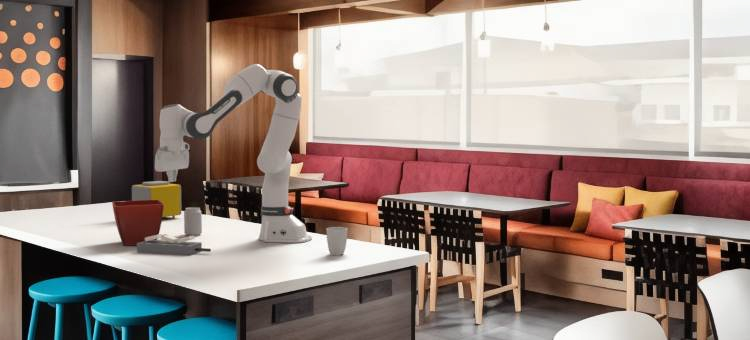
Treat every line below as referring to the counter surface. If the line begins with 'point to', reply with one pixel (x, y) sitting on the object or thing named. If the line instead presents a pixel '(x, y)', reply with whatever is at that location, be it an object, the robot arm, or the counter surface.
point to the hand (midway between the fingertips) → (172, 181)
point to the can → (192, 221)
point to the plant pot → (137, 219)
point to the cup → (336, 240)
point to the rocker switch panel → (170, 247)
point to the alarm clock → (160, 195)
